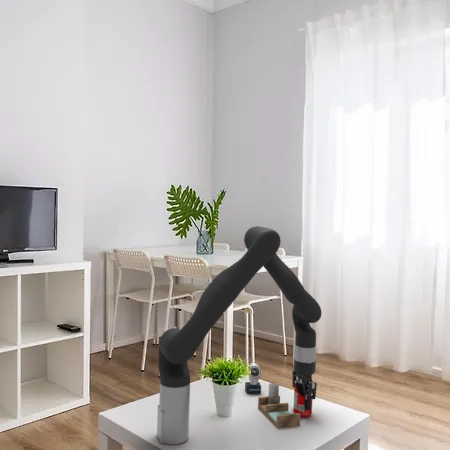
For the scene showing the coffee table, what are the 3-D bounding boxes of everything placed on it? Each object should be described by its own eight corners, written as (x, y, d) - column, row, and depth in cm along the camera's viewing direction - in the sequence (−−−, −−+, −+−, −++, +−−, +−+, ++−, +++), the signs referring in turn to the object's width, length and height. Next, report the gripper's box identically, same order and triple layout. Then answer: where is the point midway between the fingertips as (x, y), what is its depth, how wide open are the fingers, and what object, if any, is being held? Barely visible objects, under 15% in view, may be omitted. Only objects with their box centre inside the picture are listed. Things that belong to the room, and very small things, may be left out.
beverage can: (309, 419, 174) (311, 385, 173) (291, 416, 176) (292, 382, 175) (313, 413, 180) (314, 379, 179) (295, 409, 182) (296, 376, 181)
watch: (247, 396, 193) (248, 367, 193) (244, 388, 201) (245, 360, 201) (262, 395, 194) (263, 367, 193) (258, 388, 202) (259, 360, 201)
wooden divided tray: (277, 428, 166) (278, 399, 165) (257, 408, 182) (258, 381, 182) (299, 426, 168) (301, 397, 168) (278, 406, 185) (279, 380, 184)
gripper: (286, 352, 182) (284, 399, 183) (304, 365, 169) (302, 415, 169) (305, 351, 185) (303, 397, 185) (324, 364, 171) (322, 413, 172)
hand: (303, 405), depth 177 cm, fingers closed on beverage can, 6 cm apart
